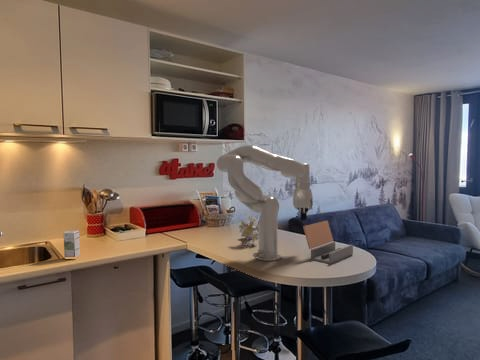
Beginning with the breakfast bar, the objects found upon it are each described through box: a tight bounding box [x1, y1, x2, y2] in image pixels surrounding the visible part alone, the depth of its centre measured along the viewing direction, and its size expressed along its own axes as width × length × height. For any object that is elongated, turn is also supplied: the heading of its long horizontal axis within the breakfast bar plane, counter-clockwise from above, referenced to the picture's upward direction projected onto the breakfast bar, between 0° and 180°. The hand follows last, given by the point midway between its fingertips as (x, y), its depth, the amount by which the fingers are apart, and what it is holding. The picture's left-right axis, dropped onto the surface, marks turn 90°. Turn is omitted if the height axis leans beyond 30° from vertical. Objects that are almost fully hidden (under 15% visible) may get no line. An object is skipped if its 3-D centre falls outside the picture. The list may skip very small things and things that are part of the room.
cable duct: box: [310, 241, 354, 265], centre depth 170 cm, size 22×11×5 cm, turn 135°
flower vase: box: [238, 215, 259, 248], centre depth 206 cm, size 13×18×25 cm
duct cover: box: [302, 220, 334, 250], centre depth 175 cm, size 22×12×1 cm
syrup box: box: [62, 229, 81, 258], centre depth 176 cm, size 6×6×14 cm
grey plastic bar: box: [321, 247, 342, 259], centre depth 170 cm, size 18×2×2 cm, turn 135°
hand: (303, 219), depth 182 cm, fingers closed
